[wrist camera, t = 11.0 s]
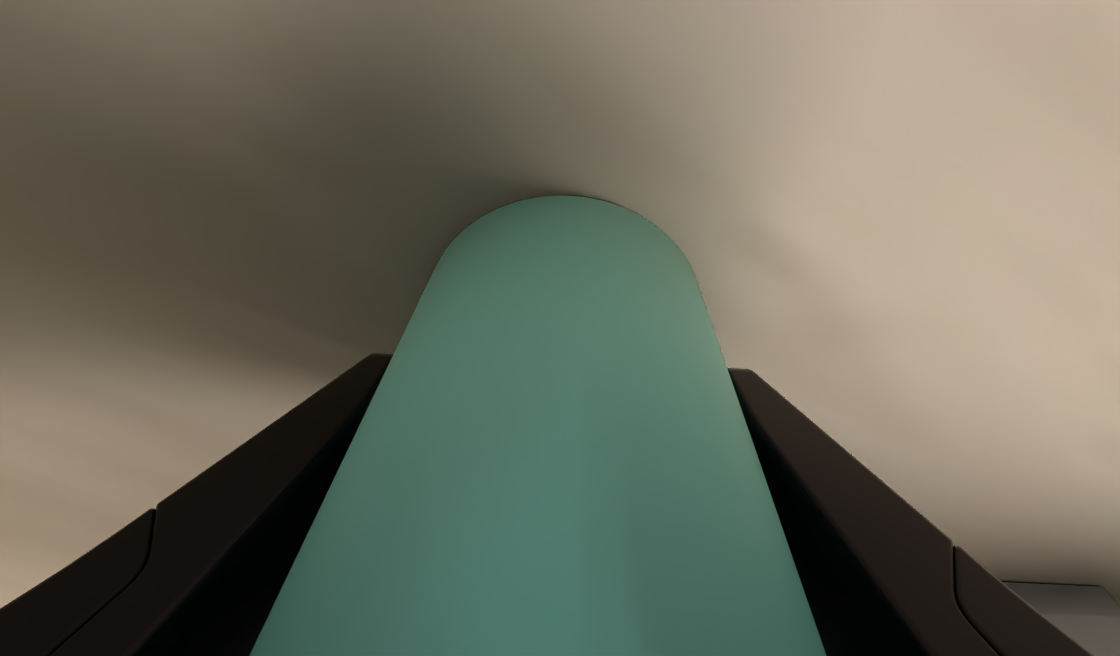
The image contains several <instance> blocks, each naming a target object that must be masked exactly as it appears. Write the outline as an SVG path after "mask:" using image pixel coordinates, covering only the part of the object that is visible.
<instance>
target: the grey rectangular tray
mask: <svg viewBox="0 0 1120 656" xmlns="http://www.w3.org/2000/svg"><path fill="white" fill-rule="evenodd" d="M1002 583H1003V584H1005V585H1006V586H1007V587H1008V588H1009V589H1011V590H1012V591H1013V592H1014V593H1016V594H1017V595H1018V596H1019V597H1020V598H1022V599H1023V600H1024V601H1025V602H1026V603H1028V604H1029V605H1030V606H1031V607H1033V608H1034V609H1035V610H1036V611H1037V612H1039V613H1040V614H1041V615H1042V616H1044V617H1045V618H1046V619H1048V620H1049V621H1050V622H1051V623H1053V624H1054V625H1055V626H1057V627H1058V628H1059V629H1061V630H1062V631H1063V632H1064V633H1066V634H1067V635H1068V636H1070V637H1071V638H1072V639H1073V640H1075V641H1076V642H1077V643H1079V644H1080V645H1081V646H1082V647H1084V648H1085V649H1086V650H1088V651H1089V652H1090V653H1091V654H1093V655H1094V656H1120V607H1119V606H1118V604H1117V603H1116V602H1115V601H1114V600H1113V598H1112V597H1111V596H1110V595H1109V594H1108V593H1107V591H1106V590H1105V589H1104V588H1103V587H1095V586H1074V585H1053V584H1032V583H1011V582H1002Z"/></svg>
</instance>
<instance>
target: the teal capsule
mask: <svg viewBox="0 0 1120 656" xmlns="http://www.w3.org/2000/svg"><path fill="white" fill-rule="evenodd" d="M249 656H826V653H825V650H824V647H823V644H822V641H821V638H820V636H819V633H818V630H817V627H816V624H815V621H814V618H813V615H812V612H811V609H810V607H809V604H808V601H807V598H806V595H805V592H804V589H803V586H802V583H801V580H800V578H799V575H798V572H797V569H796V566H795V563H794V560H793V557H792V554H791V552H790V549H789V546H788V543H787V540H786V537H785V534H784V531H783V528H782V525H781V523H780V520H779V517H778V514H777V511H776V508H775V505H774V502H773V499H772V496H771V494H770V491H769V488H768V485H767V482H766V479H765V476H764V473H763V470H762V467H761V465H760V462H759V459H758V456H757V453H756V450H755V447H754V444H753V441H752V438H751V436H750V433H749V430H748V427H747V424H746V421H745V418H744V415H743V412H742V410H741V407H740V404H739V401H738V398H737V395H736V392H735V389H734V386H733V383H732V381H731V378H730V375H729V372H728V369H727V366H726V363H725V360H724V357H723V354H722V352H721V349H720V346H719V343H718V340H717V337H716V334H715V331H714V328H713V325H712V323H711V320H710V317H709V314H708V311H707V308H706V305H705V302H704V299H703V296H702V294H701V291H700V288H699V285H698V282H697V280H696V277H695V275H694V272H693V270H692V267H691V266H690V264H689V262H688V261H687V259H686V257H685V256H684V254H683V252H682V251H681V250H680V249H679V248H678V246H677V245H676V244H675V243H674V242H673V240H672V239H671V238H670V237H668V236H667V235H666V234H665V233H664V232H663V231H662V230H661V229H659V228H658V227H657V226H656V225H654V224H653V223H651V222H650V221H648V220H647V219H645V218H644V217H642V216H640V215H638V214H636V213H634V212H632V211H630V210H628V209H626V208H624V207H621V206H618V205H615V204H612V203H609V202H606V201H602V200H597V199H592V198H587V197H579V196H565V195H560V196H542V197H536V198H531V199H525V200H520V201H517V202H514V203H511V204H508V205H505V206H502V207H500V208H498V209H496V210H494V211H492V212H489V213H487V214H485V215H484V216H482V217H481V218H479V219H478V220H476V221H475V222H473V223H472V224H470V225H469V226H467V227H466V228H465V229H464V230H463V231H462V232H461V233H460V234H459V235H457V236H456V237H455V238H454V240H453V241H452V242H451V243H450V245H449V246H448V247H447V248H446V249H445V251H444V252H443V254H442V256H441V258H440V259H439V261H438V263H437V264H436V266H435V269H434V271H433V273H432V275H431V277H430V279H429V281H428V283H427V285H426V287H425V289H424V292H423V294H422V296H421V298H420V300H419V302H418V304H417V306H416V308H415V310H414V312H413V315H412V317H411V319H410V321H409V323H408V325H407V327H406V329H405V331H404V333H403V335H402V338H401V340H400V342H399V344H398V346H397V348H396V350H395V352H394V354H393V356H392V358H391V361H390V363H389V365H388V367H387V369H386V371H385V373H384V375H383V377H382V379H381V381H380V384H379V386H378V388H377V390H376V392H375V394H374V396H373V398H372V400H371V402H370V404H369V407H368V409H367V411H366V413H365V415H364V417H363V419H362V421H361V423H360V425H359V427H358V430H357V432H356V434H355V436H354V438H353V440H352V442H351V444H350V446H349V448H348V450H347V453H346V455H345V457H344V459H343V461H342V463H341V465H340V467H339V469H338V471H337V473H336V475H335V478H334V480H333V482H332V484H331V486H330V488H329V490H328V492H327V494H326V496H325V498H324V501H323V503H322V505H321V507H320V509H319V511H318V513H317V515H316V517H315V519H314V521H313V524H312V526H311V528H310V530H309V532H308V534H307V536H306V538H305V540H304V542H303V544H302V547H301V549H300V551H299V553H298V555H297V557H296V559H295V561H294V563H293V565H292V567H291V570H290V572H289V574H288V576H287V578H286V580H285V582H284V584H283V586H282V588H281V590H280V593H279V595H278V597H277V599H276V601H275V603H274V605H273V607H272V609H271V611H270V613H269V616H268V618H267V620H266V622H265V624H264V626H263V628H262V630H261V632H260V634H259V636H258V639H257V641H256V643H255V645H254V647H253V649H252V651H251V653H250V655H249Z"/></svg>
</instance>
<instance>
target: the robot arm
mask: <svg viewBox="0 0 1120 656" xmlns="http://www.w3.org/2000/svg"><path fill="white" fill-rule="evenodd" d="M392 356H393V354H381V353H375V354H371V355H369V356H367V357H366V358H364V359H363V360H362V361H360V362H359V363H357V364H356V365H354V366H353V367H352V368H350V369H349V370H347V371H346V372H344V373H343V374H342V375H340V376H339V377H337V378H336V379H335V380H333V381H332V382H330V383H329V384H327V385H326V386H325V387H323V388H322V389H320V390H319V391H317V392H316V393H315V394H313V395H312V396H310V397H309V398H307V399H306V400H305V401H303V402H302V403H300V404H299V405H298V406H296V407H295V408H293V409H292V410H290V411H289V412H288V413H286V414H285V415H283V416H282V417H280V418H279V419H278V420H276V421H275V422H273V423H272V424H271V425H269V426H268V427H266V428H265V429H263V430H262V431H261V432H259V433H258V434H256V435H255V436H253V437H252V438H251V439H249V440H248V441H246V442H245V443H244V444H242V445H241V446H239V447H238V448H236V449H235V450H234V451H232V452H231V453H229V454H228V455H226V456H225V457H224V458H222V459H221V460H219V461H218V462H216V463H215V464H214V465H212V466H211V467H209V468H208V469H207V470H205V471H204V472H202V473H201V474H199V475H198V476H197V477H195V478H194V479H192V480H191V481H189V482H188V483H187V484H185V485H184V486H182V487H181V488H180V489H178V490H177V491H175V492H174V493H172V494H171V495H170V496H168V497H167V498H165V499H164V500H162V501H161V502H160V503H158V504H157V507H156V509H149V510H148V511H146V512H145V513H144V514H142V515H141V516H139V517H138V518H137V519H135V520H134V521H132V522H131V523H129V524H128V525H127V526H125V527H124V528H122V529H121V530H119V531H118V532H117V533H115V534H114V535H112V536H111V537H109V538H108V539H106V540H105V541H103V542H102V543H100V544H99V545H97V546H96V547H94V548H93V549H91V550H90V551H89V552H87V553H86V554H84V555H83V556H81V557H80V558H78V559H77V560H75V561H74V562H72V563H71V564H69V565H68V566H66V567H65V568H63V569H62V570H60V571H59V572H57V573H56V574H54V575H52V576H51V577H49V578H48V579H46V580H45V581H43V582H41V583H40V584H38V585H37V586H35V587H34V588H32V589H30V590H29V591H27V592H26V593H24V594H23V595H21V596H20V597H18V598H16V599H15V600H13V601H12V602H10V603H9V604H7V605H5V606H4V607H2V608H1V609H0V656H249V655H250V653H251V651H252V649H253V647H254V645H255V643H256V641H257V639H258V636H259V634H260V632H261V630H262V628H263V626H264V624H265V622H266V620H267V618H268V616H269V613H270V611H271V609H272V607H273V605H274V603H275V601H276V599H277V597H278V595H279V593H280V590H281V588H282V586H283V584H284V582H285V580H286V578H287V576H288V574H289V572H290V570H291V567H292V565H293V563H294V561H295V559H296V557H297V555H298V553H299V551H300V549H301V547H302V544H303V542H304V540H305V538H306V536H307V534H308V532H309V530H310V528H311V526H312V524H313V521H314V519H315V517H316V515H317V513H318V511H319V509H320V507H321V505H322V503H323V501H324V498H325V496H326V494H327V492H328V490H329V488H330V486H331V484H332V482H333V480H334V478H335V475H336V473H337V471H338V469H339V467H340V465H341V463H342V461H343V459H344V457H345V455H346V453H347V450H348V448H349V446H350V444H351V442H352V440H353V438H354V436H355V434H356V432H357V430H358V427H359V425H360V423H361V421H362V419H363V417H364V415H365V413H366V411H367V409H368V407H369V404H370V402H371V400H372V398H373V396H374V394H375V392H376V390H377V388H378V386H379V384H380V381H381V379H382V377H383V375H384V373H385V371H386V369H387V367H388V365H389V363H390V361H391V358H392ZM727 369H728V372H729V375H730V378H731V381H732V383H733V386H734V389H735V392H736V395H737V398H738V401H739V404H740V407H741V410H742V412H743V415H744V418H745V421H746V424H747V427H748V430H749V433H750V436H751V438H752V441H753V444H754V447H755V450H756V453H757V456H758V459H759V462H760V465H761V467H762V470H763V473H764V476H765V479H766V482H767V485H768V488H769V491H770V494H771V496H772V499H773V502H774V505H775V508H776V511H777V514H778V517H779V520H780V523H781V525H782V528H783V531H784V534H785V537H786V540H787V543H788V546H789V549H790V552H791V554H792V557H793V560H794V563H795V566H796V569H797V572H798V575H799V578H800V580H801V583H802V586H803V589H804V592H805V595H806V598H807V601H808V604H809V607H810V609H811V612H812V615H813V618H814V621H815V624H816V627H817V630H818V633H819V636H820V638H821V641H822V644H823V647H824V650H825V653H826V656H1094V655H1093V654H1091V653H1090V652H1089V651H1088V650H1086V649H1085V648H1084V647H1082V646H1081V645H1080V644H1079V643H1077V642H1076V641H1075V640H1073V639H1072V638H1071V637H1070V636H1068V635H1067V634H1066V633H1064V632H1063V631H1062V630H1061V629H1059V628H1058V627H1057V626H1055V625H1054V624H1053V623H1051V622H1050V621H1049V620H1048V619H1046V618H1045V617H1044V616H1042V615H1041V614H1040V613H1039V612H1037V611H1036V610H1035V609H1034V608H1033V607H1031V606H1030V605H1029V604H1028V603H1026V602H1025V601H1024V600H1023V599H1022V598H1020V597H1019V596H1018V595H1017V594H1016V593H1014V592H1013V591H1012V590H1011V589H1009V588H1008V587H1007V586H1006V585H1005V584H1003V583H1002V582H1001V581H1000V580H999V579H997V578H996V577H995V576H994V575H992V574H991V573H990V572H989V571H988V570H986V569H985V568H984V567H983V566H982V565H981V564H979V563H978V562H977V561H976V560H975V559H974V558H972V557H971V556H970V555H969V554H968V553H966V552H965V551H964V550H963V549H962V548H961V547H959V546H953V542H952V540H951V539H950V538H949V537H947V536H946V535H945V534H944V533H943V532H941V531H940V530H939V529H938V528H937V527H936V526H934V525H933V524H932V523H931V522H930V521H929V520H927V519H926V518H925V517H924V516H923V515H921V514H920V513H919V512H918V511H917V510H916V509H914V508H913V507H912V506H911V505H910V504H909V503H907V502H906V501H905V500H904V499H903V498H902V497H900V496H899V495H898V494H897V493H896V492H894V491H893V490H892V489H891V488H890V487H889V486H887V485H886V484H885V483H884V482H883V481H882V480H880V479H879V478H878V477H877V476H876V475H874V474H873V473H872V472H871V471H870V470H869V469H867V468H866V467H865V466H864V465H863V464H862V463H860V462H859V461H858V460H857V459H856V458H854V457H853V456H852V455H851V454H850V453H849V452H847V451H846V450H845V449H844V448H843V447H842V446H840V445H839V444H838V443H837V442H836V441H835V440H833V439H832V438H831V437H830V436H829V435H827V434H826V433H825V432H824V431H823V430H822V429H820V428H819V427H818V426H817V425H816V424H815V423H813V422H812V421H811V420H810V419H809V418H807V417H806V416H805V415H804V414H803V413H802V412H800V411H799V410H798V409H797V408H796V407H795V406H793V405H792V404H791V403H790V402H789V401H787V400H786V399H785V398H784V397H783V396H782V395H780V394H779V393H778V392H777V391H776V390H775V389H773V388H772V387H771V386H770V385H769V384H767V383H766V382H765V381H764V380H763V379H762V378H760V377H759V376H758V375H757V374H756V373H755V372H753V371H752V370H750V369H738V368H727Z"/></svg>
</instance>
